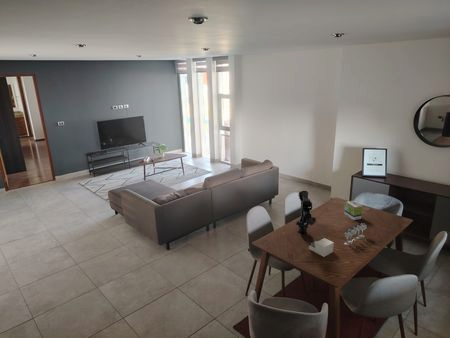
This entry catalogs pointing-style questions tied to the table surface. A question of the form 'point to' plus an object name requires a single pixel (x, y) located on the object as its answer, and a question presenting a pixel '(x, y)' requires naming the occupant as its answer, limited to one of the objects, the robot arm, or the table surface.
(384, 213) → the table surface
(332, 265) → the table surface
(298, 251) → the table surface
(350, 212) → the tea box
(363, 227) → the goblet set
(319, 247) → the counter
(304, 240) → the table surface
